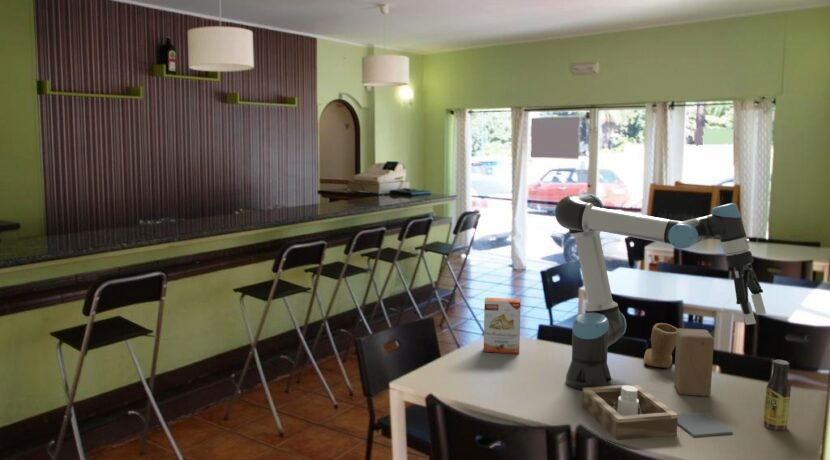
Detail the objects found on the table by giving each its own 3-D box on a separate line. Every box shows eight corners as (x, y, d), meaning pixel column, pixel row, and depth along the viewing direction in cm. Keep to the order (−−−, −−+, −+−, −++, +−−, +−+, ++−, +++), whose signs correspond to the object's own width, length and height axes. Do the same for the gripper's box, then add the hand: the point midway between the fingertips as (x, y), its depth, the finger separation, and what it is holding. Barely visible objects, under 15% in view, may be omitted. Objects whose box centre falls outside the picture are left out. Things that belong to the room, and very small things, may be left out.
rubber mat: (667, 416, 204) (667, 414, 204) (703, 413, 206) (704, 412, 206) (693, 436, 190) (693, 434, 190) (732, 433, 192) (732, 431, 192)
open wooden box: (582, 406, 212) (582, 387, 211) (635, 402, 215) (636, 384, 214) (617, 439, 189) (618, 419, 188) (676, 434, 192) (677, 414, 191)
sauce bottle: (758, 422, 200) (763, 357, 197) (778, 421, 200) (783, 357, 198) (771, 432, 193) (776, 365, 191) (792, 431, 194) (797, 364, 191)
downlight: (611, 422, 200) (614, 390, 199) (614, 413, 207) (616, 382, 205) (639, 427, 197) (642, 395, 196) (641, 418, 204) (644, 386, 202)
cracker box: (483, 352, 265) (483, 300, 262) (484, 348, 271) (484, 296, 268) (519, 354, 262) (520, 301, 259) (519, 349, 268) (520, 298, 265)
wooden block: (711, 397, 219) (714, 337, 216) (678, 395, 221) (681, 335, 218) (704, 386, 229) (707, 328, 226) (673, 384, 231) (676, 327, 228)
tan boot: (676, 372, 243) (678, 331, 240) (641, 367, 247) (643, 327, 245) (678, 359, 256) (680, 320, 254) (645, 355, 261) (647, 317, 259)
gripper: (739, 256, 199) (759, 326, 198) (759, 244, 218) (777, 308, 217) (713, 261, 204) (733, 330, 203) (735, 249, 223) (753, 312, 222)
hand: (756, 319), depth 210 cm, fingers open, 13 cm apart
